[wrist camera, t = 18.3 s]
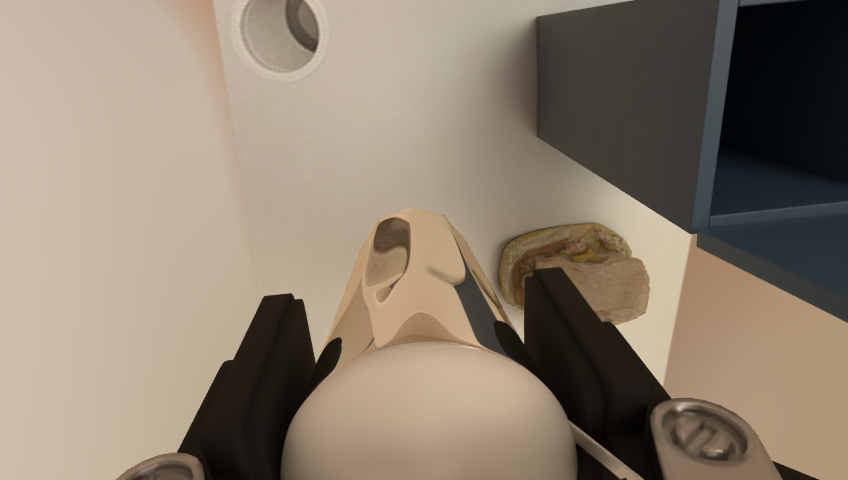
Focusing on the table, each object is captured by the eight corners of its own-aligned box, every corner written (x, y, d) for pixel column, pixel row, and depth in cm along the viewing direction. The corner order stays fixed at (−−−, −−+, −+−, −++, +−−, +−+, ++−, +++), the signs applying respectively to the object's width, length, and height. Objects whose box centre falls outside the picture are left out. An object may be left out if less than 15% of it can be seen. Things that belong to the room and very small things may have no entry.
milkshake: (531, 283, 16) (727, 644, 6) (375, 340, 16) (346, 750, 7) (485, 150, 14) (660, 381, 5) (312, 219, 14) (161, 549, 5)
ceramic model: (641, 221, 49) (701, 263, 40) (621, 319, 53) (670, 378, 44) (502, 220, 48) (530, 263, 39) (492, 320, 52) (515, 380, 43)
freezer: (536, 16, 42) (720, -15, 19) (654, 5, 42) (979, -39, 19) (536, 137, 45) (690, 234, 22) (644, 125, 46) (905, 210, 23)
